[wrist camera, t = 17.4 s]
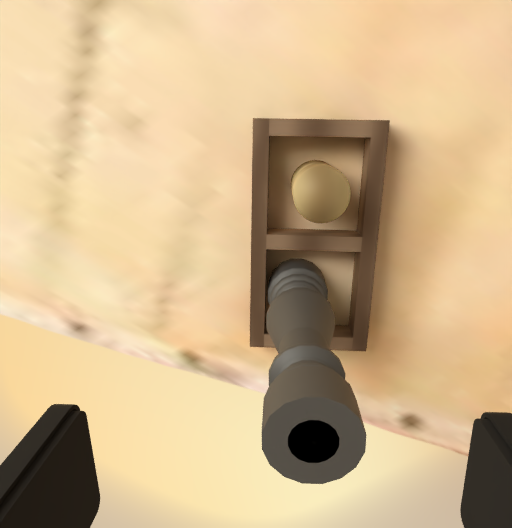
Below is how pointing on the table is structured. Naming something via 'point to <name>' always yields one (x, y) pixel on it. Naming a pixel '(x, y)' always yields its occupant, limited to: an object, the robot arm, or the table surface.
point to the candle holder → (307, 383)
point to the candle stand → (319, 217)
